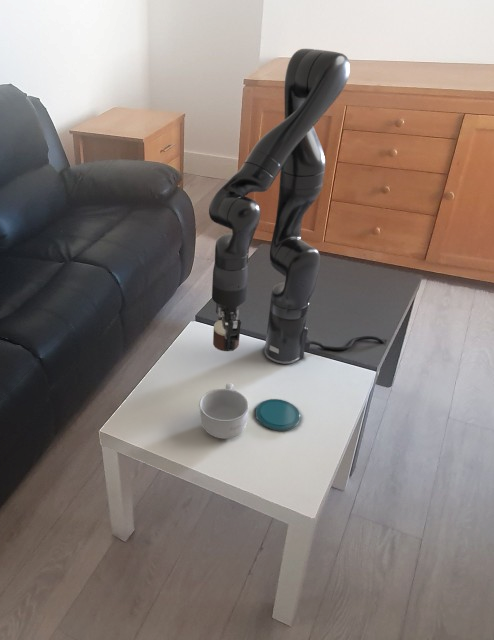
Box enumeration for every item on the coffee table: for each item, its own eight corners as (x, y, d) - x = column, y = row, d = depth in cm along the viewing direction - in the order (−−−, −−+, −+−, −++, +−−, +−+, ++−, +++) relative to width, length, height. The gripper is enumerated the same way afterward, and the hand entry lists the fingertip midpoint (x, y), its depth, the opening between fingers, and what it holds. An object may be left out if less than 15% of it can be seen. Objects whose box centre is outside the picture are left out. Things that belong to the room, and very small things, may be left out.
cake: (235, 335, 142) (236, 318, 139) (241, 350, 137) (243, 332, 135) (210, 337, 142) (211, 320, 140) (215, 352, 137) (216, 335, 135)
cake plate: (291, 399, 144) (291, 396, 143) (305, 428, 136) (306, 426, 135) (250, 403, 144) (251, 400, 143) (262, 432, 136) (263, 430, 135)
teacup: (235, 451, 132) (238, 426, 127) (191, 435, 137) (191, 410, 132) (256, 413, 141) (259, 387, 136) (214, 399, 146) (215, 374, 141)
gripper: (255, 296, 124) (249, 359, 134) (239, 263, 136) (234, 323, 145) (219, 299, 124) (216, 362, 134) (206, 266, 136) (204, 325, 146)
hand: (226, 341), depth 140 cm, fingers closed on cake, 6 cm apart
